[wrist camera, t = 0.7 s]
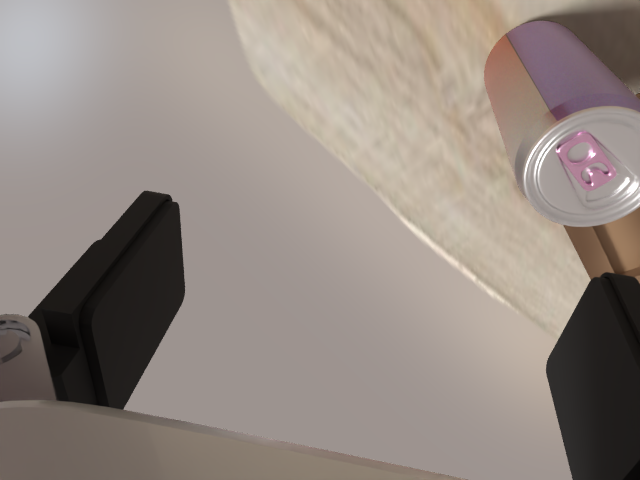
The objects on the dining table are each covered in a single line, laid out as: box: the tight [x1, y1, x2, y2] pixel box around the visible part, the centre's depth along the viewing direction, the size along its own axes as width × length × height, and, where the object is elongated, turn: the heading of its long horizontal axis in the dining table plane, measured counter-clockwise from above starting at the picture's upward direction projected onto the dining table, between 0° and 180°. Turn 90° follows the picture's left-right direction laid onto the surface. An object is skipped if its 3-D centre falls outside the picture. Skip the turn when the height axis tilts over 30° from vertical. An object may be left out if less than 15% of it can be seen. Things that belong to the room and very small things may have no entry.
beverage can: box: [484, 21, 640, 227], centre depth 28 cm, size 6×6×15 cm
